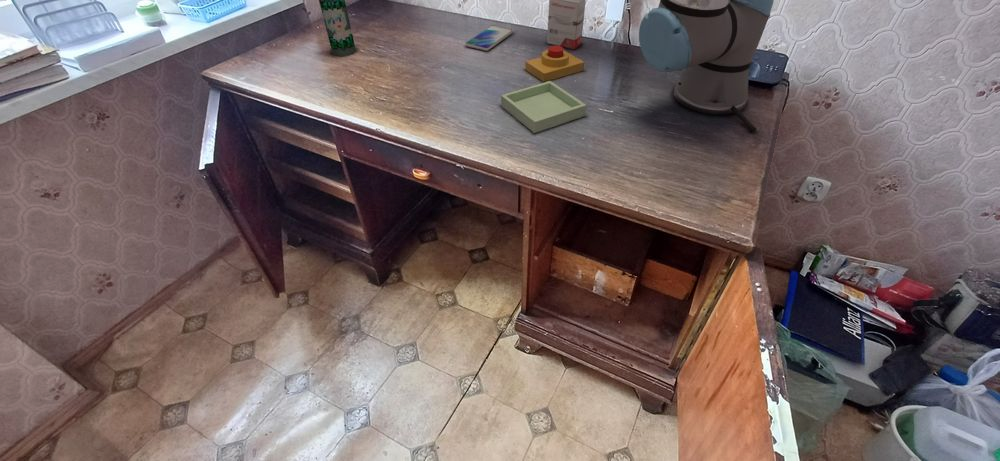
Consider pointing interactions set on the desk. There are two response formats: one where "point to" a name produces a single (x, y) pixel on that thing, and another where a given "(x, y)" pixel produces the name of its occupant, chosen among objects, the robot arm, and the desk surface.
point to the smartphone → (489, 38)
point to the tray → (543, 106)
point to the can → (338, 26)
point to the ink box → (565, 23)
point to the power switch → (554, 66)
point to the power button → (555, 51)
